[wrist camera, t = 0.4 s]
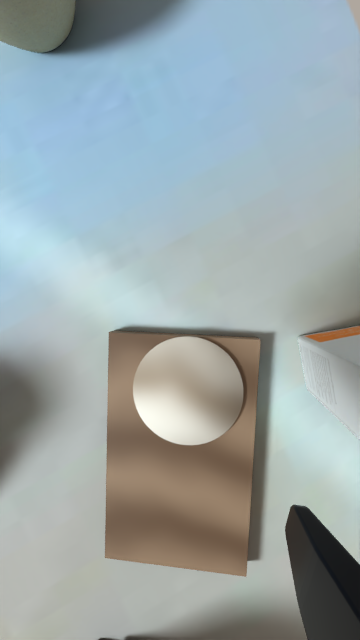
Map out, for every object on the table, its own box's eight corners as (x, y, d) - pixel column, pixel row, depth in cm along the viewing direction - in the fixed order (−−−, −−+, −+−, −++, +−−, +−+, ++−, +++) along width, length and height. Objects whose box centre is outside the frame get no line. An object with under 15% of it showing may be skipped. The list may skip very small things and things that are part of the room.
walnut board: (244, 562, 23) (246, 580, 21) (110, 545, 24) (103, 561, 23) (257, 337, 21) (261, 340, 20) (114, 330, 23) (107, 332, 21)
